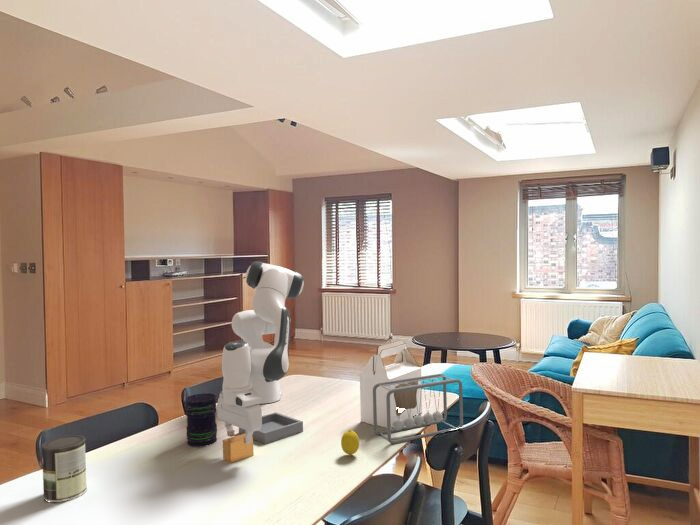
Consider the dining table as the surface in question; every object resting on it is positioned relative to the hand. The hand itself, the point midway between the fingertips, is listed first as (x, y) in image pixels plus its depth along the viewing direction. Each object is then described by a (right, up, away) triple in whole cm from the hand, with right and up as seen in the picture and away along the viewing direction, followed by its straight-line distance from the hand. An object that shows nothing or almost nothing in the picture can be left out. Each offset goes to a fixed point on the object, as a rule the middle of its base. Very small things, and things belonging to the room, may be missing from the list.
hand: (239, 439), depth 160 cm
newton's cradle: (+58, -4, +18) cm, 61 cm away
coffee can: (-42, -7, -22) cm, 47 cm away
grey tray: (+6, -5, +22) cm, 24 cm away
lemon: (+34, -5, -1) cm, 35 cm away
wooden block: (0, -6, 0) cm, 6 cm away
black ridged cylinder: (-16, -6, +15) cm, 22 cm away
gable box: (+50, -4, +35) cm, 61 cm away
